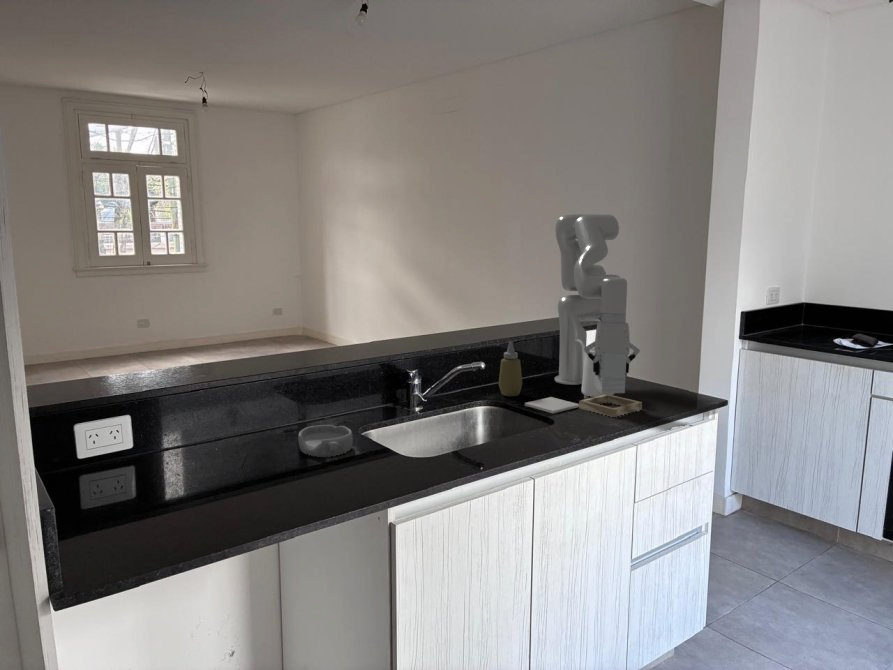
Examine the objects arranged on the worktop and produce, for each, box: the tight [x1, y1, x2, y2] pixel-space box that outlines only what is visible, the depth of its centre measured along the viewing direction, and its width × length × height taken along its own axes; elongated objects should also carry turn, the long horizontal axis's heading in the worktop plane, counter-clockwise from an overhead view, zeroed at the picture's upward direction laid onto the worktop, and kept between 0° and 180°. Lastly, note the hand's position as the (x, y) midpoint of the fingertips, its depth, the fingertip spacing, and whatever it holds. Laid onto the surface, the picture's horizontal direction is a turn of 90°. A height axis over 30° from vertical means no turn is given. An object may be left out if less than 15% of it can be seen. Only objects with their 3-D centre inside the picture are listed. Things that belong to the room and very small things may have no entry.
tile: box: [524, 396, 579, 414], centre depth 210 cm, size 12×12×1 cm
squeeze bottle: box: [498, 341, 523, 397], centre depth 223 cm, size 8×8×18 cm
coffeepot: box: [576, 340, 615, 398], centre depth 223 cm, size 11×25×19 cm, turn 25°
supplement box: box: [596, 353, 627, 394], centre depth 204 cm, size 7×7×13 cm
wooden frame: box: [578, 394, 643, 418], centre depth 205 cm, size 13×13×2 cm
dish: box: [297, 424, 354, 458], centre depth 170 cm, size 14×14×5 cm
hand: (610, 374), depth 204 cm, fingers closed on supplement box, 8 cm apart
